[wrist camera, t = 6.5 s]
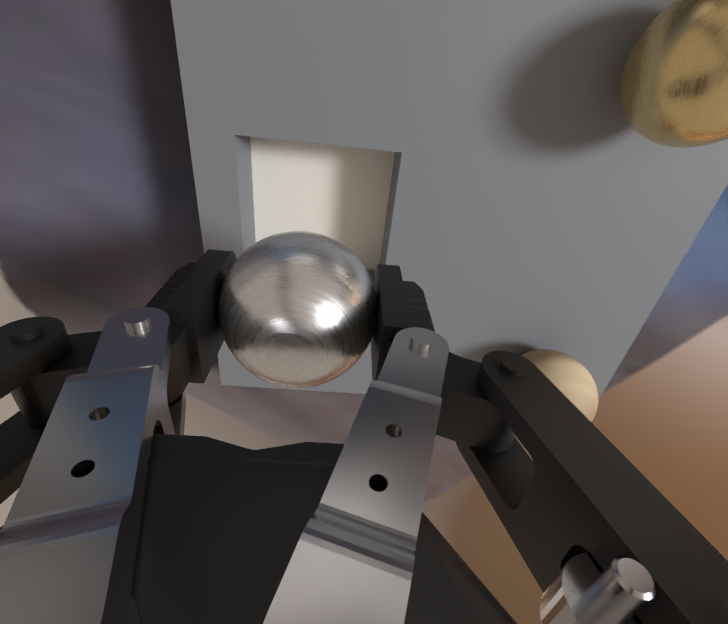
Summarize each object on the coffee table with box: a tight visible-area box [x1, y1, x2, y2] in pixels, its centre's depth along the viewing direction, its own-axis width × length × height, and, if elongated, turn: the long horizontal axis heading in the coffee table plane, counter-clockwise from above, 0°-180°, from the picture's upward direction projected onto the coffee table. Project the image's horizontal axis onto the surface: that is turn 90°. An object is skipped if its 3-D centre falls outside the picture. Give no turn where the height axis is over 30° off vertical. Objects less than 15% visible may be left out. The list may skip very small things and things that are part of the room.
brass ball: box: [620, 0, 728, 148], centre depth 12 cm, size 4×4×4 cm
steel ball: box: [218, 231, 377, 388], centre depth 11 cm, size 4×4×4 cm
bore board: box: [171, 0, 728, 399], centre depth 19 cm, size 20×22×3 cm
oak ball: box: [521, 349, 598, 422], centre depth 20 cm, size 4×4×4 cm
